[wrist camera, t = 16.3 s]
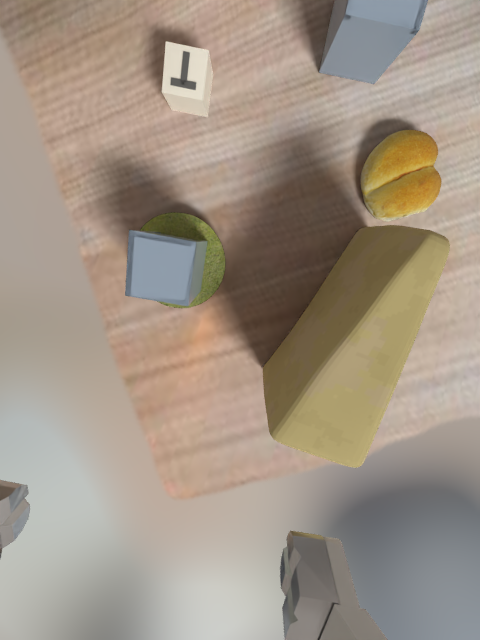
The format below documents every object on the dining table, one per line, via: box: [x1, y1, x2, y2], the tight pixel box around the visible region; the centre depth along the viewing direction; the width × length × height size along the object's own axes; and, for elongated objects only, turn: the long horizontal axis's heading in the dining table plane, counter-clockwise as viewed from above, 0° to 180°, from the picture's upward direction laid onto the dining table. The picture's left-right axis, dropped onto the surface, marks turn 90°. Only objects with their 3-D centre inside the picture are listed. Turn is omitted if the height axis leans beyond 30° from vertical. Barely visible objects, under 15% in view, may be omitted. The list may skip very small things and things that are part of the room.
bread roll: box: [361, 130, 441, 221], centre depth 31 cm, size 8×9×4 cm
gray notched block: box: [319, 0, 428, 84], centre depth 25 cm, size 6×6×8 cm
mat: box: [140, 212, 225, 308], centre depth 34 cm, size 11×11×2 cm
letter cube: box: [162, 41, 213, 117], centre depth 28 cm, size 4×4×4 cm
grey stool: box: [125, 230, 208, 306], centre depth 30 cm, size 6×6×8 cm
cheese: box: [263, 225, 450, 467], centre depth 30 cm, size 22×10×15 cm, turn 159°
